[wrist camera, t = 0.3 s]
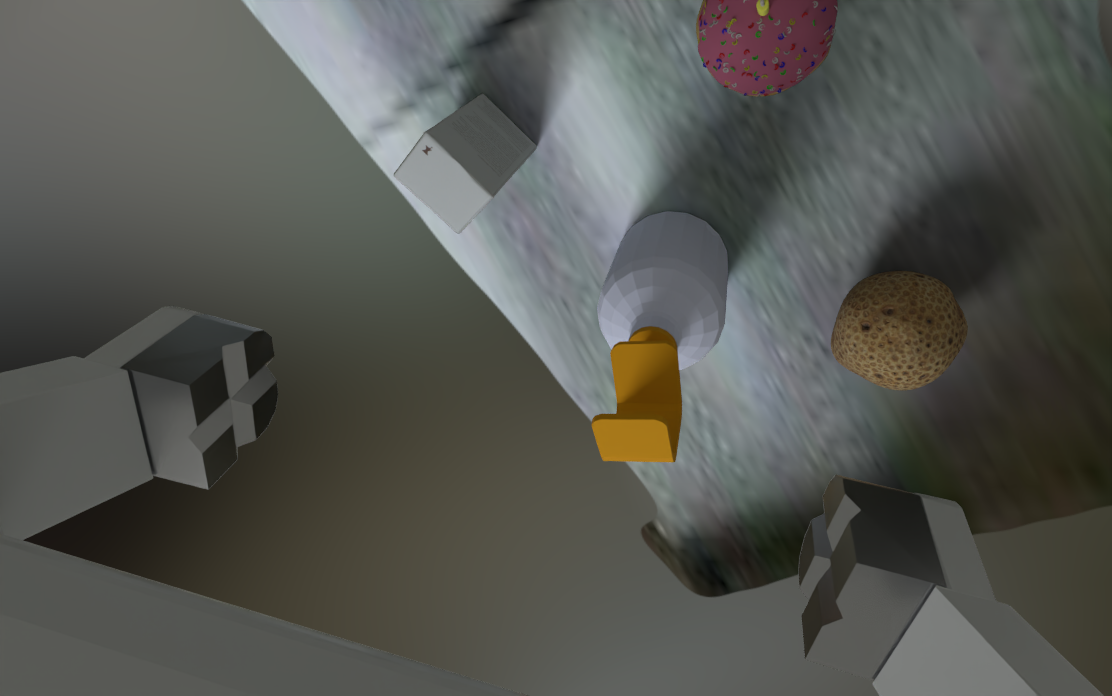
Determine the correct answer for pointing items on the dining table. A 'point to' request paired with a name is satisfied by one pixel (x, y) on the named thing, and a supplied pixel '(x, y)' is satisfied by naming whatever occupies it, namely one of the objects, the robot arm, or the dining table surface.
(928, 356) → the natural sponge
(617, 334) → the soap bottle
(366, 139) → the dining table surface
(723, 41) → the cupcake
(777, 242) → the dining table surface
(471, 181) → the skincare box
